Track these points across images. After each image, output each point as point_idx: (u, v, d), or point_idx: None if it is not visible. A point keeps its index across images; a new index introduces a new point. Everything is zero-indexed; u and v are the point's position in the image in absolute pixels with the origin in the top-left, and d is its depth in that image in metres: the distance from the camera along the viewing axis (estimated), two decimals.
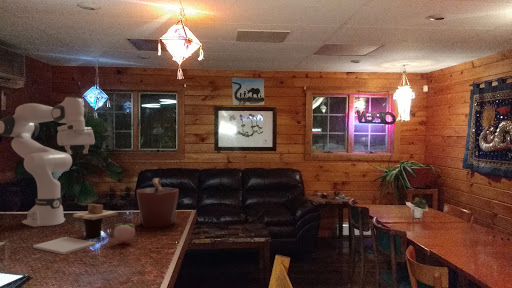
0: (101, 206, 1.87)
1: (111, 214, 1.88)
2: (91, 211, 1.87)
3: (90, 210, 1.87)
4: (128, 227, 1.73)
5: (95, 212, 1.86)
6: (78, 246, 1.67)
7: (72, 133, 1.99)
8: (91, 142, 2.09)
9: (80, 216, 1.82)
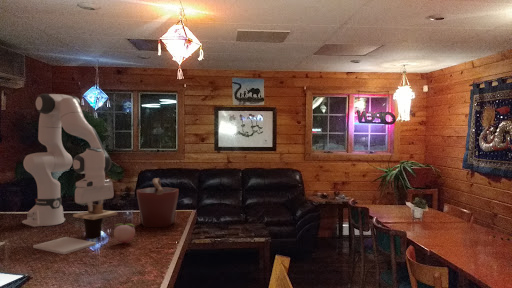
0: (101, 206, 1.87)
1: (111, 214, 1.88)
2: (91, 211, 1.87)
3: None
4: (128, 227, 1.73)
5: (95, 212, 1.86)
6: (78, 246, 1.67)
7: (91, 189, 1.83)
8: (110, 196, 1.93)
9: (80, 216, 1.82)
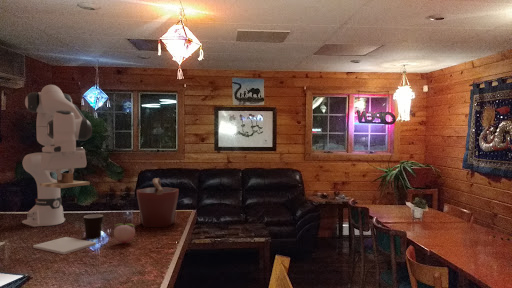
0: (71, 175, 1.69)
1: (82, 184, 1.70)
2: (60, 180, 1.70)
3: None
4: (128, 227, 1.73)
5: (64, 181, 1.69)
6: (78, 246, 1.67)
7: (59, 156, 1.66)
8: (82, 165, 1.76)
9: (48, 185, 1.65)
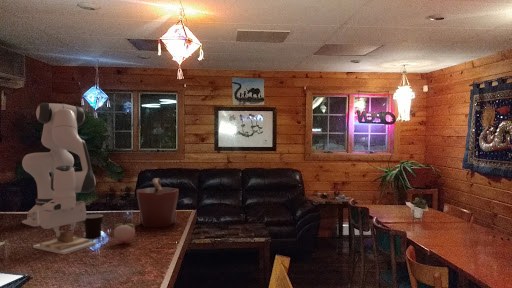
0: (71, 234, 1.70)
1: (82, 242, 1.71)
2: (60, 239, 1.70)
3: (59, 238, 1.71)
4: (128, 227, 1.73)
5: (64, 240, 1.69)
6: (78, 246, 1.67)
7: (59, 213, 1.66)
8: (82, 219, 1.77)
9: (48, 245, 1.66)
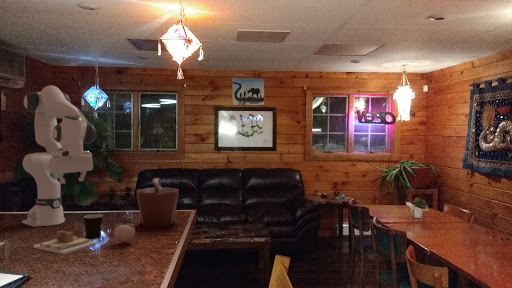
0: (71, 234, 1.70)
1: (82, 242, 1.71)
2: (60, 239, 1.70)
3: (59, 238, 1.71)
4: (128, 227, 1.73)
5: (64, 240, 1.69)
6: (78, 246, 1.67)
7: (67, 160, 1.72)
8: (89, 168, 1.82)
9: (48, 245, 1.66)
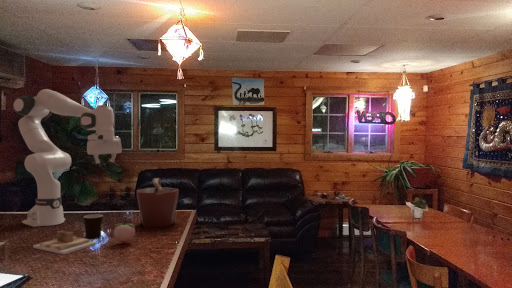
0: (71, 234, 1.70)
1: (82, 242, 1.71)
2: (60, 239, 1.70)
3: (59, 238, 1.71)
4: (128, 227, 1.73)
5: (64, 240, 1.69)
6: (78, 246, 1.67)
7: (101, 143, 2.00)
8: (118, 151, 2.11)
9: (48, 245, 1.66)
